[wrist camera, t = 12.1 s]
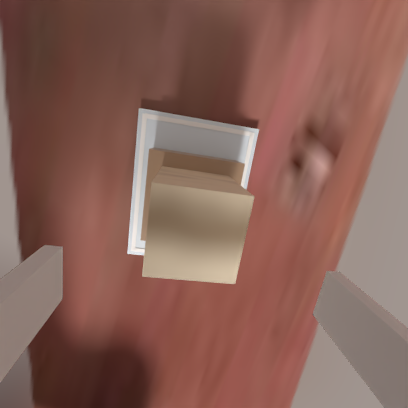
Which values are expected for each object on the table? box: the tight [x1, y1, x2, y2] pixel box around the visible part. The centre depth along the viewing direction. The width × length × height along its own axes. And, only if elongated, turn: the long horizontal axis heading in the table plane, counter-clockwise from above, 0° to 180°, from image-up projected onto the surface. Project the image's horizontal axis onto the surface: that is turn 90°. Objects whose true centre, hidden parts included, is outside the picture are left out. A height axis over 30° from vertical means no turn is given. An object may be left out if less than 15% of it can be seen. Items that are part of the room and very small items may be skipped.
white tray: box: [127, 108, 259, 255], centre depth 27 cm, size 18×14×5 cm
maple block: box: [142, 166, 254, 284], centre depth 21 cm, size 7×7×9 cm
